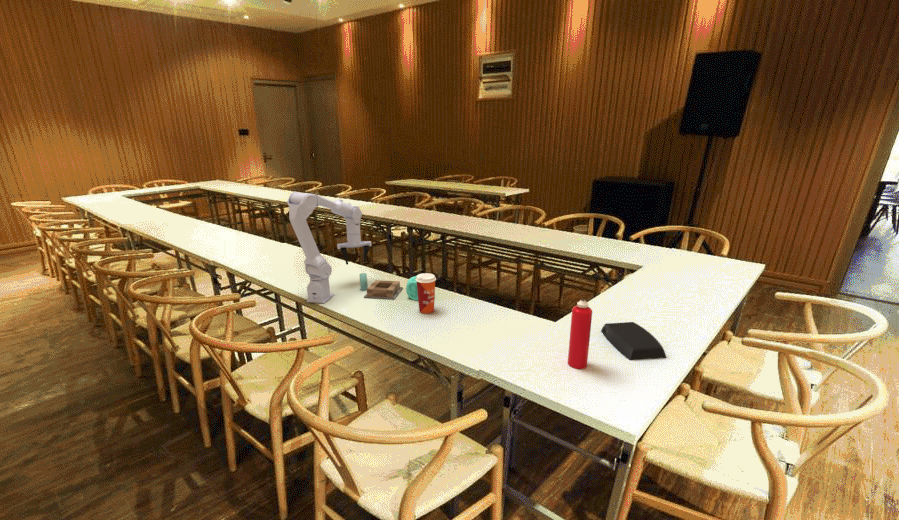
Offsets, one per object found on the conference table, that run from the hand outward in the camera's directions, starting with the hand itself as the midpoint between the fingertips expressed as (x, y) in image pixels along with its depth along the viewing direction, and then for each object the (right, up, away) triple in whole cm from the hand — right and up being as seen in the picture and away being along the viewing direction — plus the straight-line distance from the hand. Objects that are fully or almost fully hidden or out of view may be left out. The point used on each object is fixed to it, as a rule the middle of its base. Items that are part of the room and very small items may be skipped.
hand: (355, 263), depth 186 cm
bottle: (+79, -29, -64) cm, 106 cm away
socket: (+14, -13, -8) cm, 20 cm away
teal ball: (+29, -14, -13) cm, 35 cm away
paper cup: (+33, -18, -26) cm, 46 cm away
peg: (+4, -11, -4) cm, 13 cm away
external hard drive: (+100, -26, -52) cm, 116 cm away
